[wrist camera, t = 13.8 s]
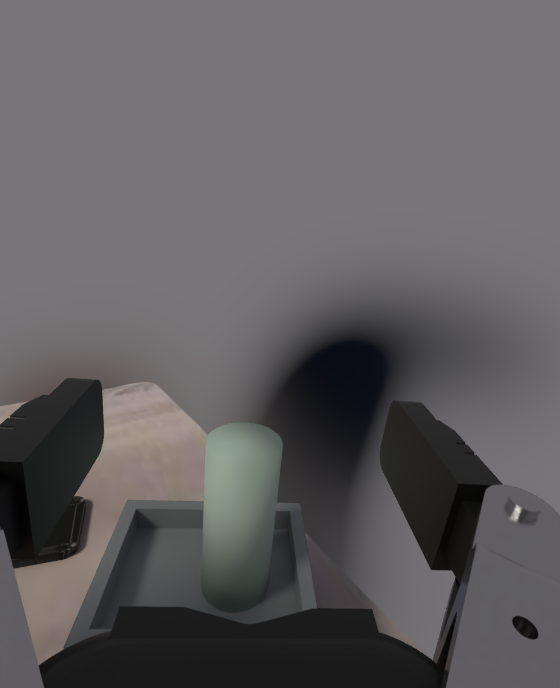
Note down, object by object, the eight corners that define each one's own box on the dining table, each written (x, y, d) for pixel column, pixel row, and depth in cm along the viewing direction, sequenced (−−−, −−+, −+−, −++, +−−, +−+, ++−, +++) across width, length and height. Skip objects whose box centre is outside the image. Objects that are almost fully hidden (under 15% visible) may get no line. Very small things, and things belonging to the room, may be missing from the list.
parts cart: (74, 730, 24) (63, 646, 22) (130, 566, 36) (127, 499, 33) (309, 723, 26) (323, 643, 23) (292, 567, 37) (299, 503, 35)
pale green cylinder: (197, 612, 27) (201, 463, 23) (205, 552, 31) (209, 421, 28) (269, 612, 27) (285, 466, 23) (266, 553, 32) (279, 423, 28)
